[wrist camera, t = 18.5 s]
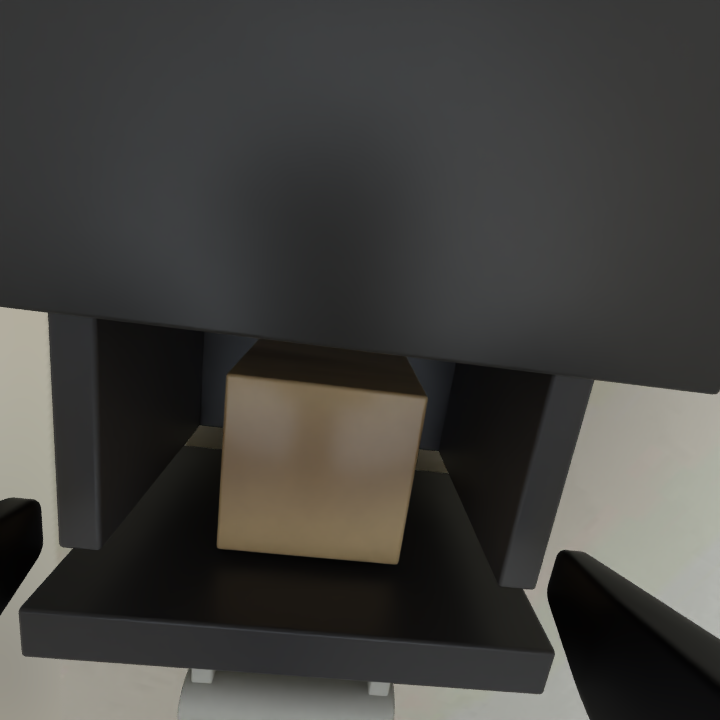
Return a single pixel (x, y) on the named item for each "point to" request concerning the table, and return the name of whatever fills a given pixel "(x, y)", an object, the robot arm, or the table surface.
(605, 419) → the table surface
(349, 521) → the block
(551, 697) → the table surface
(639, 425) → the table surface
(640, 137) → the cabinet
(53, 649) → the drawer
